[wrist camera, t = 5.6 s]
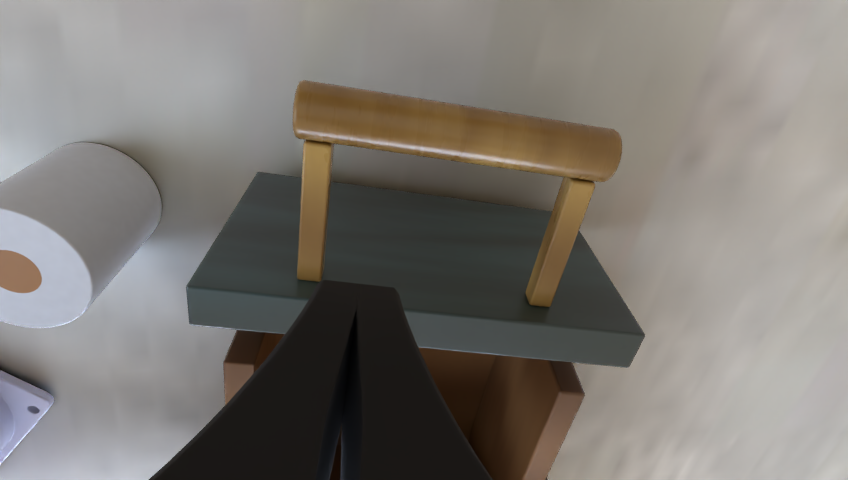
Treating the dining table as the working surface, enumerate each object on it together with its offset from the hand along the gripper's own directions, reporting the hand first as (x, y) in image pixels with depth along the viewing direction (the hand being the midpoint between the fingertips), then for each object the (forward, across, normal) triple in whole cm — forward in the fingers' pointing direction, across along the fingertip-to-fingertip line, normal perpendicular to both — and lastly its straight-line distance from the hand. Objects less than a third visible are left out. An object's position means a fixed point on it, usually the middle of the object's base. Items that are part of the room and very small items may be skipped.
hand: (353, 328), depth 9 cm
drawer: (+9, -2, +6) cm, 11 cm away
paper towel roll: (+10, +10, +4) cm, 15 cm away
